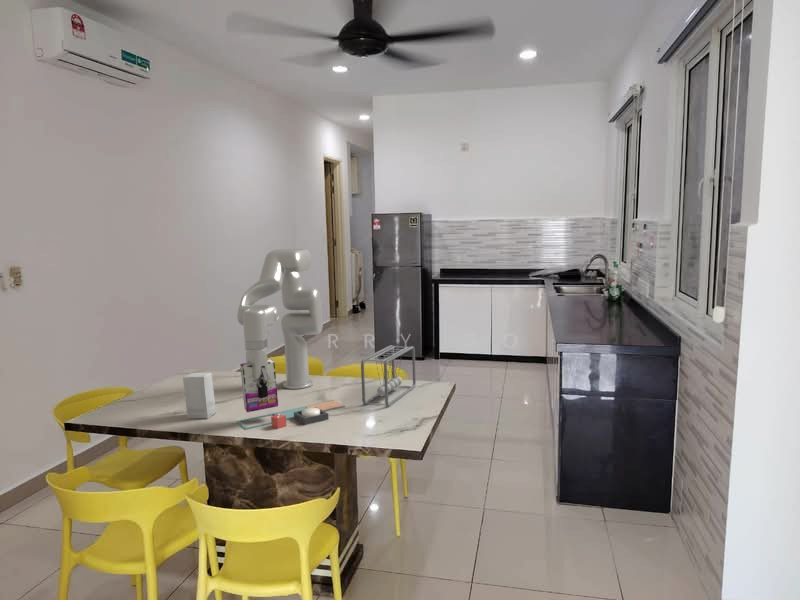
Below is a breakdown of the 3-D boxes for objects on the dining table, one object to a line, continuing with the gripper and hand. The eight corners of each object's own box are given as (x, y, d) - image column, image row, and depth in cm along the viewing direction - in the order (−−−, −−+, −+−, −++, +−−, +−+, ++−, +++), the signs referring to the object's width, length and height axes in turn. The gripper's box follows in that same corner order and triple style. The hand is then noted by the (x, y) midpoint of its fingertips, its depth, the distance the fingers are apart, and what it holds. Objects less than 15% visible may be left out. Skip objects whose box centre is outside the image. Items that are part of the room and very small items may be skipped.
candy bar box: (274, 402, 202) (271, 358, 200) (278, 406, 198) (275, 361, 195) (243, 408, 197) (239, 363, 195) (246, 412, 193) (242, 366, 190)
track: (236, 422, 197) (236, 421, 197) (333, 400, 218) (333, 399, 218) (245, 429, 189) (245, 428, 189) (345, 406, 210) (345, 405, 210)
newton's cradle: (387, 408, 207) (385, 361, 205) (362, 406, 211) (360, 359, 209) (416, 386, 235) (415, 345, 233) (393, 385, 239) (391, 343, 237)
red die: (271, 426, 191) (270, 415, 191) (279, 423, 194) (279, 412, 193) (278, 428, 189) (277, 417, 188) (286, 425, 192) (285, 414, 191)
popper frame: (294, 418, 199) (293, 412, 199) (317, 413, 204) (316, 407, 204) (304, 424, 192) (304, 418, 192) (328, 419, 197) (328, 413, 197)
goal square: (305, 407, 211) (305, 406, 211) (334, 401, 218) (334, 400, 218) (315, 412, 204) (315, 411, 204) (344, 406, 211) (344, 405, 211)
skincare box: (216, 413, 208) (213, 372, 206) (207, 419, 201) (204, 376, 199) (195, 412, 209) (192, 371, 207) (185, 418, 202) (182, 376, 201)
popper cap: (298, 416, 199) (298, 410, 199) (315, 413, 202) (314, 406, 202) (306, 421, 194) (306, 414, 193) (323, 417, 197) (323, 411, 197)
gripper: (237, 342, 199) (241, 391, 202) (254, 350, 185) (258, 403, 188) (257, 338, 203) (261, 387, 206) (276, 347, 189) (279, 399, 192)
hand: (260, 394), depth 197 cm, fingers closed on candy bar box, 5 cm apart
